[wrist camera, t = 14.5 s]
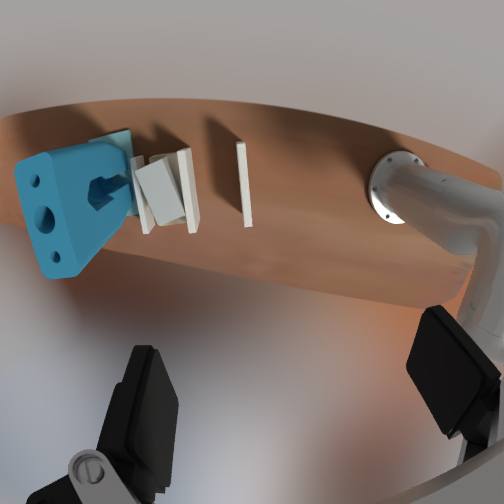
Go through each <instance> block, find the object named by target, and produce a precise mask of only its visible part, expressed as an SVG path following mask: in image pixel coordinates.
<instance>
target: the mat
mask: <svg viewBox="0 0 504 504" xmlns="http://www.w3.org/2000/svg"><path fill="white" fill-rule="evenodd" d="M96 141H106V142H108V143H110V144H112V145H114V146H116V147H119V148H121V149H123V150H124V151H125V152H126V154H127V160H128V166H129V169H128V170H125V171H123V172H121V173H119V174H117V175H115V176H113V177H111V178H110V179H111V182H112V183H113V184H115V185H118V184H123V183H128V182H131V184H132V189H133V194H134V200H133V202H132V204H131V206H130V208H129V210H128V213H127V215H126V216H130V215H136V214H139V210H138V204H137V199H136V194H135V188H134V182H133V176H132V170H131V164H130V159H131V158H134V154H133V147H132V139H131V131H130V130H126V131H122V132H118V133H114V134H109V135H106V136H102V137H98V138H94V139H90V140H88V142H89V143H90V142H96Z"/></svg>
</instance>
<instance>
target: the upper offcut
mask: <svg viewBox="0 0 504 504" xmlns="http://www.w3.org/2000/svg"><path fill="white" fill-rule="evenodd" d="M135 174H136V176H137V178H138V181H139V183H140V185H141V188H142V190H143V192H144V195H145V197H146V199H147V201H148V204H149V206H150V208H151V210H152V212H153V215H154V217H155V219H156V221H157V223H158V225H159V226H160V225H162V224H165V223H167V222H170V221H172V220H174V219H177V218H180V217H182V216H185V215H186V212H185V205H184V199H183V195H182V193H181V190H180V188H179V186H178V183H177V181H176V178H175V176H174V174H173V171H172V169H171V166H170V164H169V161H168V159H167V157H164V158H162V159H160V160H158V161H155V162H153V163H151V164H149V165H147V166H144V167H142V168H140V169H138V170H136V171H135Z"/></svg>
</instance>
